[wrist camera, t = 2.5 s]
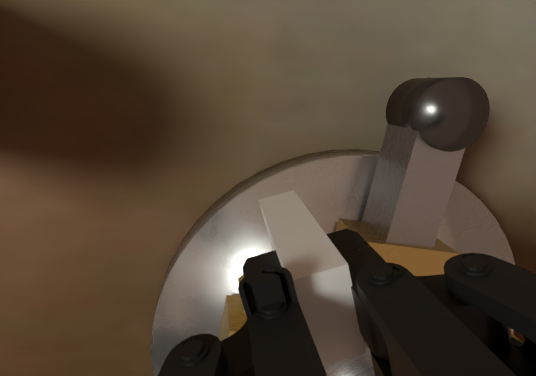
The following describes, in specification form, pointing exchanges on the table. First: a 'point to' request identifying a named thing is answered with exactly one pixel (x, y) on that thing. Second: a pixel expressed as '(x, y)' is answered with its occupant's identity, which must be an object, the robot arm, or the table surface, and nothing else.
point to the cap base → (257, 242)
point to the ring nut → (411, 177)
